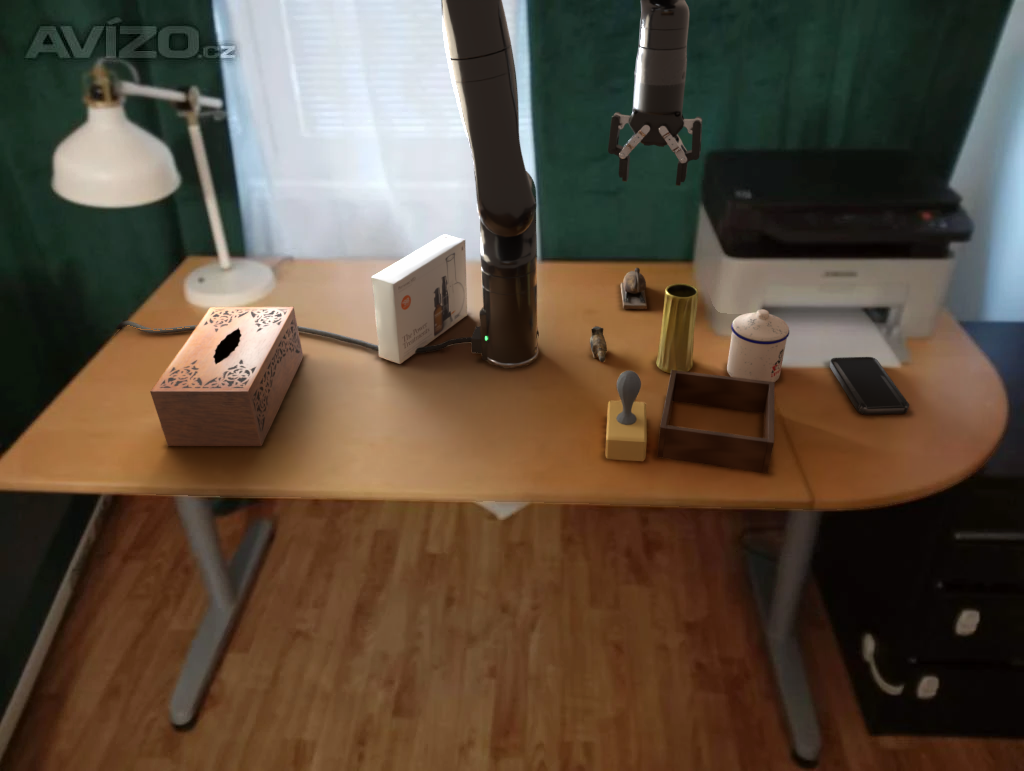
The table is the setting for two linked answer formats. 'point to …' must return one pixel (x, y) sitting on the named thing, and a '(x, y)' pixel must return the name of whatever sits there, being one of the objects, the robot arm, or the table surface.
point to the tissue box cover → (229, 377)
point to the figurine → (634, 290)
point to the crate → (717, 444)
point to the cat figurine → (598, 343)
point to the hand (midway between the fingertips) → (651, 182)
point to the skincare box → (420, 297)
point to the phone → (868, 386)
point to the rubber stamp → (626, 421)
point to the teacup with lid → (757, 346)
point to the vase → (678, 328)
